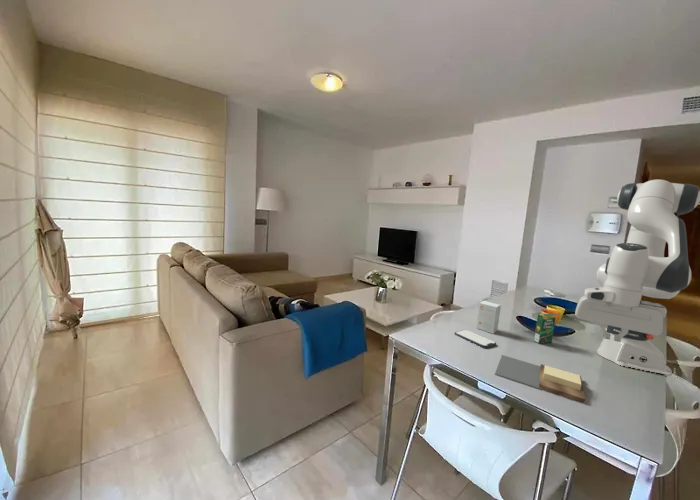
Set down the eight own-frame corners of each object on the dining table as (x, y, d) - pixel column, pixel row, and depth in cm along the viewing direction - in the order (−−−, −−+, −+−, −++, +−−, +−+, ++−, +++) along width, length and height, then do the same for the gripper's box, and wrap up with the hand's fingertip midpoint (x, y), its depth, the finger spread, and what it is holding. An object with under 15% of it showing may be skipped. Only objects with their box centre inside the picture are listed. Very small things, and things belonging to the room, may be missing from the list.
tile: (578, 380, 103) (579, 375, 103) (580, 390, 97) (581, 384, 97) (543, 370, 108) (544, 365, 108) (543, 378, 103) (544, 373, 102)
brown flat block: (580, 379, 107) (581, 375, 107) (584, 403, 93) (585, 399, 92) (540, 367, 113) (540, 364, 113) (538, 388, 99) (539, 384, 99)
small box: (497, 330, 147) (501, 304, 145) (493, 334, 143) (497, 307, 141) (480, 325, 153) (484, 300, 151) (475, 328, 148) (479, 302, 146)
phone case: (453, 335, 139) (484, 350, 126) (453, 332, 139) (484, 346, 125) (465, 332, 144) (497, 346, 130) (466, 329, 144) (497, 342, 130)
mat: (543, 368, 113) (543, 367, 113) (542, 390, 98) (542, 389, 98) (501, 355, 121) (502, 354, 121) (494, 374, 106) (495, 373, 106)
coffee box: (538, 344, 135) (543, 315, 133) (532, 341, 138) (537, 313, 136) (552, 343, 138) (557, 315, 136) (546, 340, 140) (551, 313, 139)
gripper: (665, 302, 90) (654, 346, 92) (579, 287, 101) (571, 327, 103) (672, 307, 85) (660, 354, 86) (580, 291, 96) (572, 333, 98)
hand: (611, 339), depth 95 cm, fingers closed
